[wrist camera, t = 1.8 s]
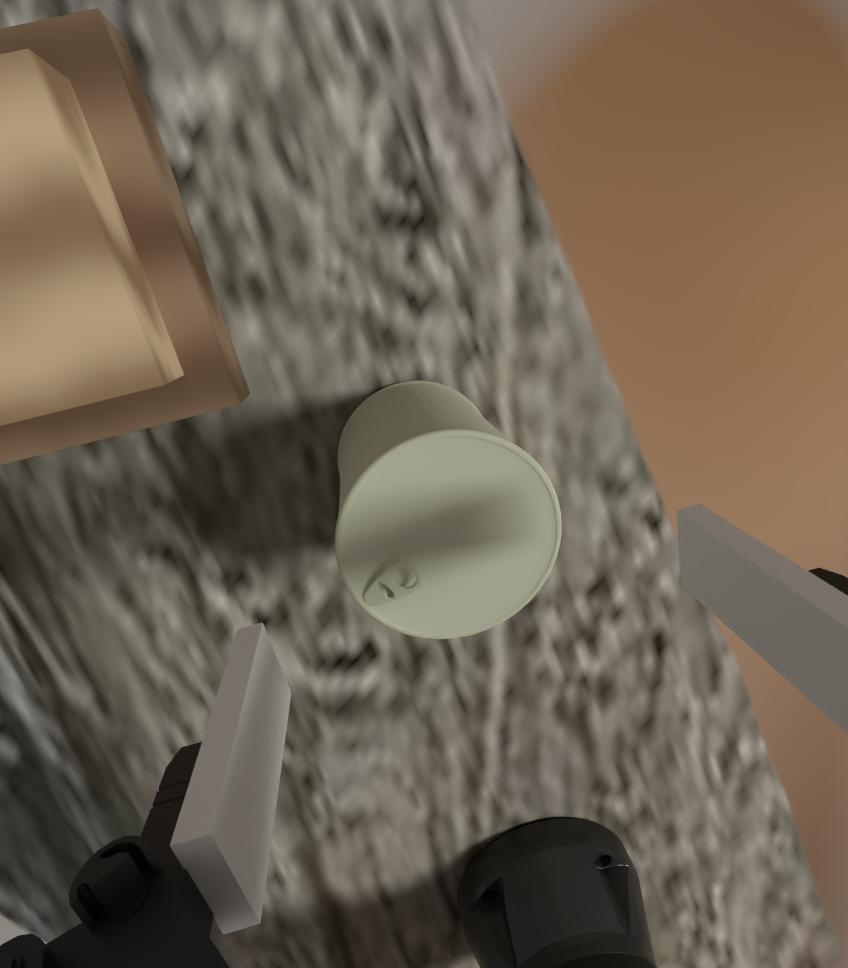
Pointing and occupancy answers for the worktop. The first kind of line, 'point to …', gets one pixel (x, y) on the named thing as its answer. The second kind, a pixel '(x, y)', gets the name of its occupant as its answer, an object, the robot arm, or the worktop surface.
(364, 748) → the worktop surface
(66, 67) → the plinth
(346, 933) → the worktop surface
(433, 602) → the can
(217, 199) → the worktop surface
